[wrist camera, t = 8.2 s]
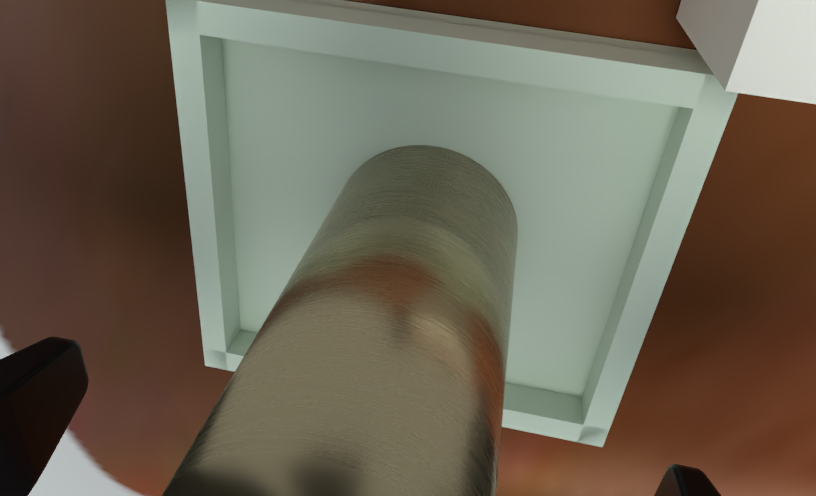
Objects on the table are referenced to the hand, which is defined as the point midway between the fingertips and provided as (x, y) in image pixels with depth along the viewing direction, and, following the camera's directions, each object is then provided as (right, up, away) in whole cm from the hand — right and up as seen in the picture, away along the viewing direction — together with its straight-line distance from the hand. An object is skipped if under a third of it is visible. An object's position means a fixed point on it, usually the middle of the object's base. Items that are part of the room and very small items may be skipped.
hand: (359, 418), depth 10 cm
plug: (+1, +3, +5) cm, 6 cm away
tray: (+1, +3, +5) cm, 6 cm away
